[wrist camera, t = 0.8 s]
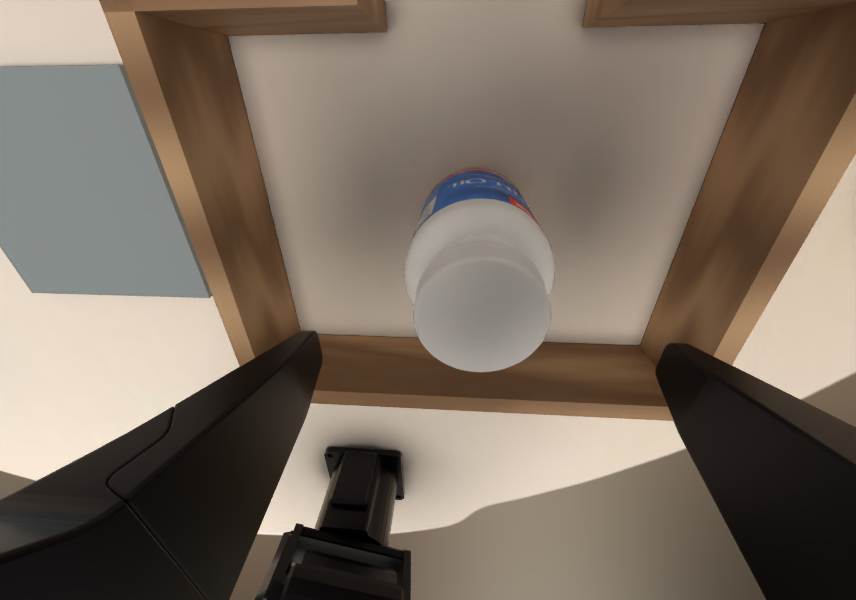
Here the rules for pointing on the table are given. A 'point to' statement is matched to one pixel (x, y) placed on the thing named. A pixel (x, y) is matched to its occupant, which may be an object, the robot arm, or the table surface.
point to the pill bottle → (479, 274)
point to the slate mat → (88, 188)
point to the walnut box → (551, 362)
